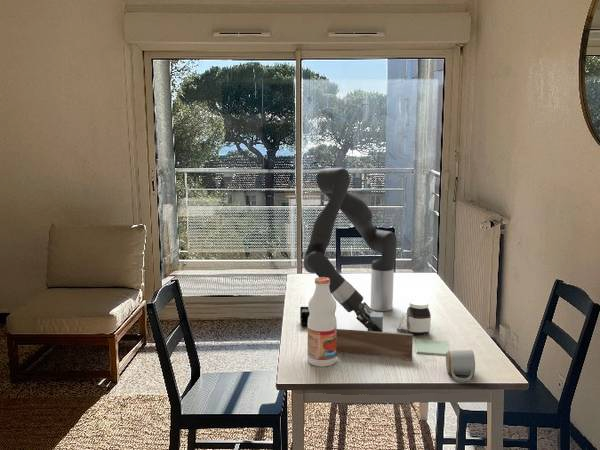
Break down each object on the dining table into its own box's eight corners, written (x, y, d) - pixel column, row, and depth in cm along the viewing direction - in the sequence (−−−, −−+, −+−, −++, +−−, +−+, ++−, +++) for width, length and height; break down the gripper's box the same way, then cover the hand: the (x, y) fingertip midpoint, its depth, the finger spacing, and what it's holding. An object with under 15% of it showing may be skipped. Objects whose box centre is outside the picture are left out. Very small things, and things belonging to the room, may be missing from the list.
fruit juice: (313, 354, 196) (313, 273, 191) (339, 358, 193) (341, 276, 188) (303, 364, 188) (303, 280, 183) (330, 369, 184) (331, 283, 179)
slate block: (368, 338, 208) (369, 311, 207) (382, 339, 207) (383, 312, 206) (367, 343, 203) (367, 316, 202) (381, 344, 202) (382, 317, 201)
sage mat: (416, 340, 208) (416, 338, 208) (448, 342, 206) (448, 341, 206) (416, 353, 197) (416, 351, 197) (449, 355, 195) (450, 354, 195)
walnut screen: (335, 348, 201) (335, 326, 199) (412, 354, 196) (412, 332, 194) (333, 354, 196) (333, 331, 194) (411, 360, 191) (412, 337, 190)
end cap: (325, 321, 229) (326, 304, 228) (325, 327, 222) (326, 310, 221) (300, 321, 229) (300, 304, 228) (299, 327, 222) (299, 310, 221)
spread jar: (432, 336, 213) (434, 306, 211) (403, 338, 211) (404, 307, 209) (420, 325, 224) (422, 296, 222) (392, 327, 222) (393, 297, 220)
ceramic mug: (444, 367, 185) (445, 345, 184) (470, 368, 185) (472, 346, 183) (449, 383, 175) (450, 359, 173) (477, 384, 174) (478, 360, 173)
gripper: (352, 294, 197) (387, 331, 196) (356, 283, 210) (389, 317, 210) (336, 309, 199) (371, 344, 198) (342, 296, 212) (374, 330, 212)
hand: (380, 330), depth 204 cm, fingers closed on slate block, 5 cm apart
